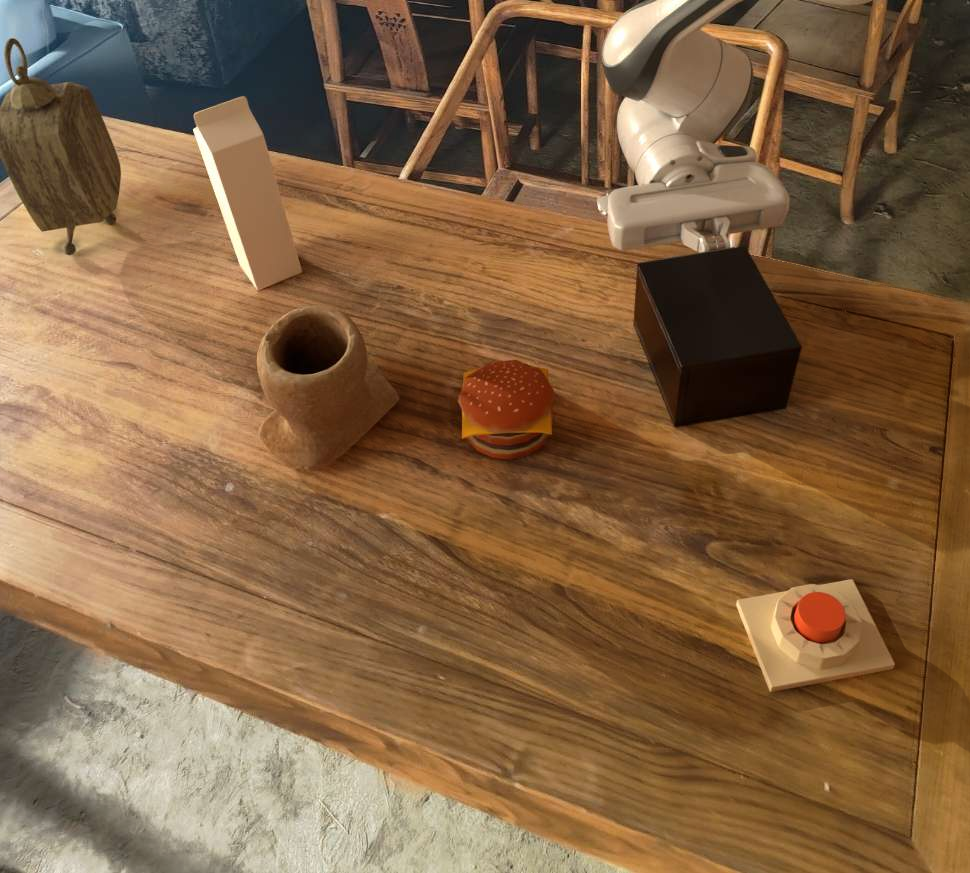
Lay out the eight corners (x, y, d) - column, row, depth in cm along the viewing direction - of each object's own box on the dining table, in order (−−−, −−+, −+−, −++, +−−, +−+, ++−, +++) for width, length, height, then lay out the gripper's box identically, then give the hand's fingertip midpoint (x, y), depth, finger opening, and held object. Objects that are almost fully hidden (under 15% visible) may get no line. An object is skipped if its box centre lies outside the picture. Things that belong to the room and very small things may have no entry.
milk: (240, 266, 115) (181, 102, 98) (284, 247, 117) (234, 83, 100) (258, 292, 111) (201, 126, 95) (304, 272, 113) (255, 106, 97)
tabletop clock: (69, 201, 127) (-19, 20, 108) (135, 190, 128) (59, 8, 109) (56, 265, 118) (-43, 80, 99) (127, 253, 118) (43, 67, 99)
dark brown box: (633, 324, 103) (637, 263, 96) (734, 307, 103) (745, 245, 97) (674, 427, 93) (681, 366, 86) (786, 408, 93) (802, 346, 87)
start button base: (847, 592, 79) (857, 566, 76) (888, 677, 74) (902, 653, 71) (733, 613, 79) (739, 588, 76) (767, 700, 73) (775, 677, 70)
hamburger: (559, 457, 91) (558, 412, 86) (462, 465, 92) (455, 420, 87) (552, 388, 97) (550, 342, 92) (461, 395, 98) (454, 350, 93)
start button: (829, 599, 75) (834, 587, 74) (848, 638, 73) (853, 627, 71) (786, 607, 75) (790, 595, 73) (804, 646, 72) (808, 635, 71)
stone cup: (325, 500, 90) (289, 394, 79) (247, 444, 95) (203, 337, 84) (431, 408, 97) (412, 298, 85) (353, 360, 102) (325, 251, 91)
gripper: (593, 170, 106) (624, 244, 97) (766, 144, 107) (812, 214, 98) (592, 216, 111) (621, 290, 102) (757, 190, 112) (801, 261, 103)
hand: (717, 252), depth 100 cm, fingers closed
